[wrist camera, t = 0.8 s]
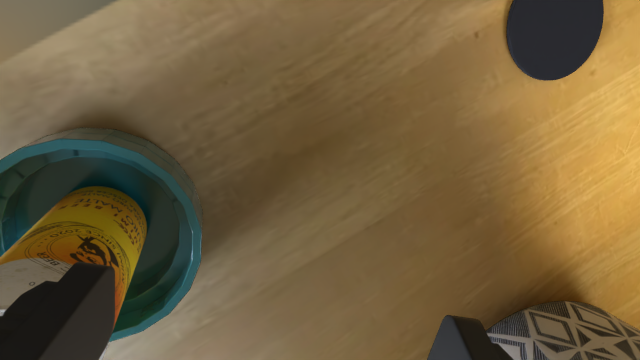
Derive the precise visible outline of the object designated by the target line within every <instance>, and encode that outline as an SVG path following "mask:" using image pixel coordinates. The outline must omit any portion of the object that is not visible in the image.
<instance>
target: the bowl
mask: <svg viewBox="0 0 640 360" xmlns="http://www.w3.org/2000/svg"><path fill="white" fill-rule="evenodd" d="M91 186H103V187H109V188H113V189H116V190H118V191H121V192H123V193H125V194H126V195H128V196H129V197H131V198H132V199H133V200H134V201H135V202H136V203H137V204H138V205H139V207H140V208H141V210H142V211H143V213H144V216H145V219H146V223H147V234H146V239H145V242H144V245H143V247H142V250H141V253H140V256H139V259H138V261H137V264H136V267H135V270H134V273H133V275H132V278H131V281H130V284H129V287H128V289H127V292H126V295H125V298H124V301H123V303H122V306H121V309H120V312H119V315H118V318H117V320H116V323H115V326H114V329H113V332H112V335H111V337H110V340H109V342H111V341H114V340H117V339H120V338H123V337H127V336H130V335H133V334H136V333H139V332H142V331H144V330H145V329H147V328H148V327H150V326H151V325H153V324H154V323H156V322H157V321H159V320H160V319H162V318H163V317H165V316H167V315H168V314H169V313H170V312H171V311H172V310H173V309H174V308H175V307H176V305H177V304H178V303H179V302H180V301H181V299H182V298H183V297H184V296H185V295H186V294H187V292H188V291H189V290H190V288H191V286H192V283H193V281H194V278H195V275H196V273H197V270H198V268H199V265H200V263H201V250H202V221H203V212H202V207H201V204H200V201H199V198H198V195H197V192H196V189H195V186H194V184H193V182H192V181H191V179H190V178H189V177H188V175H187V174H186V173H185V171H184V170H183V169H182V167H181V166H180V165H179V163H178V162H177V161H176V160H175V159H174V158H172V157H171V156H170V155H168V154H167V153H165V152H164V151H163V150H161V149H160V148H158V147H157V146H156V145H154V144H153V143H151V142H149V141H148V140H145V139H142V138H139V137H136V136H134V135H131V134H128V133H125V132H122V131H119V130H116V129H99V128H77V129H72V130H68V131H64V132H60V133H56V134H51V135H47V136H45V137H43V138H41V139H38V140H36V141H34V142H32V143H30V144H28V145H26V146H24V147H22V148H19V149H18V150H16V151H14V152H13V153H11V154H9V155H8V156H6V157H5V158H3V159H1V160H0V257H1V256H2V255H3V254H4V253H5V252H6V251H8V250H9V249H10V248H11V247H12V246H13V245H14V244H15V243H16V242H17V241H18V240H19V239H20V238H21V237H22V236H23V235H24V234H25V233H27V232H28V231H29V230H30V229H31V228H32V227H33V226H34V225H35V224H36V223H37V222H38V221H39V220H40V219H41V218H42V217H43V216H44V215H45V214H47V213H48V212H49V211H50V210H51V209H52V208H53V207H54V206H55V205H56V204H57V203H58V202H59V201H60V200H61V199H62V198H64V197H65V196H66V195H68V194H69V193H71V192H73V191H75V190H78V189H81V188H85V187H91Z"/></svg>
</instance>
